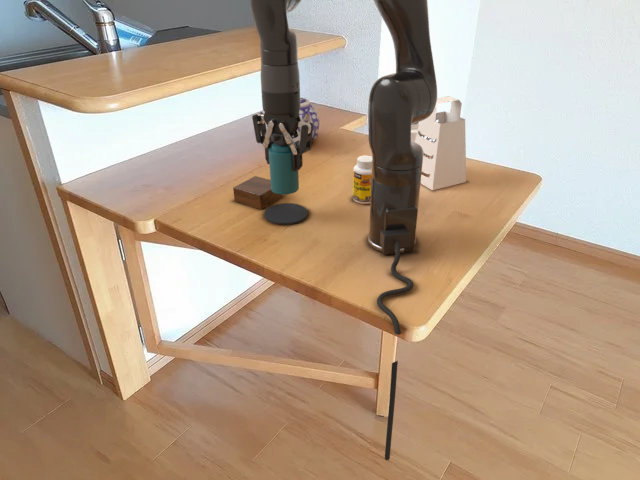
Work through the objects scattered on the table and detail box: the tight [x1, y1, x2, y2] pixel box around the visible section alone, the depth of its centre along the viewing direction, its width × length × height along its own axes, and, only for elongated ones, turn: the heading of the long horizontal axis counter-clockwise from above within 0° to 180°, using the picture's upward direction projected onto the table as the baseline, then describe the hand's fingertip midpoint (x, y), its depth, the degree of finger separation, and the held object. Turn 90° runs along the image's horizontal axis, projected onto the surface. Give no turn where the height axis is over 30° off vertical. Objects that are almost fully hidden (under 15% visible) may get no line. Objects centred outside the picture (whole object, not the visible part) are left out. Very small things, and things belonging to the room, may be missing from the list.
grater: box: [415, 95, 467, 191], centre depth 128 cm, size 10×10×20 cm
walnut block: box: [232, 175, 283, 210], centre depth 122 cm, size 8×8×4 cm
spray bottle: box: [268, 133, 300, 196], centre depth 110 cm, size 12×6×13 cm
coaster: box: [263, 202, 309, 226], centre depth 116 cm, size 10×10×1 cm
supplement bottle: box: [352, 155, 372, 205], centre depth 120 cm, size 6×6×10 cm
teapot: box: [266, 97, 320, 147], centre depth 153 cm, size 25×15×15 cm, turn 31°
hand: (284, 166), depth 111 cm, fingers closed on spray bottle, 6 cm apart
